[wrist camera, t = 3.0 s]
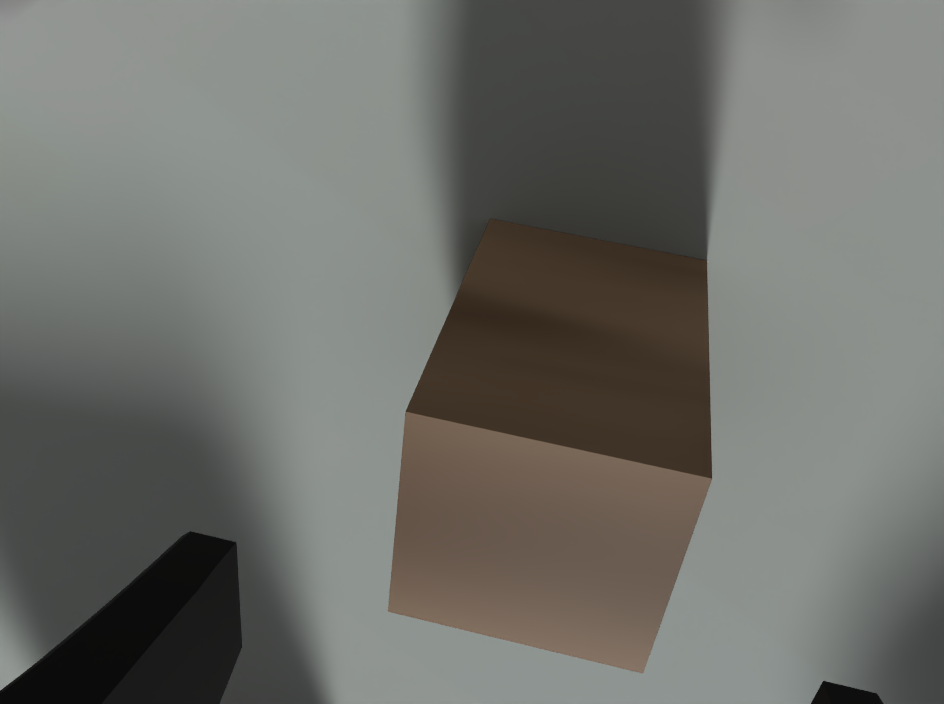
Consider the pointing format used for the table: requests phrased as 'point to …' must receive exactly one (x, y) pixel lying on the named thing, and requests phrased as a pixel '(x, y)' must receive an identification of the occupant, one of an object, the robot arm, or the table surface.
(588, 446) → the block
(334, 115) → the table surface
